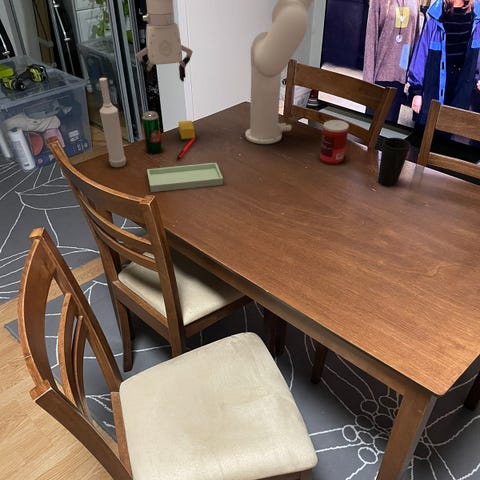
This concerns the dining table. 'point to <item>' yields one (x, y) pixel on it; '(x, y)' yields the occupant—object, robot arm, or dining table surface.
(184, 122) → the sponge
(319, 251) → the dining table surface
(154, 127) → the soda can
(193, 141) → the pen
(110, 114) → the bottle
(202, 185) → the tray
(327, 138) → the canned food
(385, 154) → the cup
